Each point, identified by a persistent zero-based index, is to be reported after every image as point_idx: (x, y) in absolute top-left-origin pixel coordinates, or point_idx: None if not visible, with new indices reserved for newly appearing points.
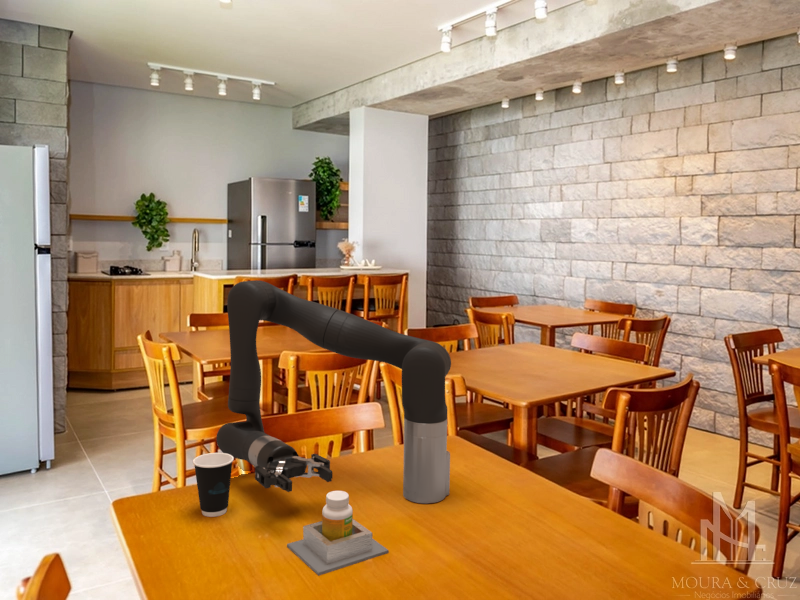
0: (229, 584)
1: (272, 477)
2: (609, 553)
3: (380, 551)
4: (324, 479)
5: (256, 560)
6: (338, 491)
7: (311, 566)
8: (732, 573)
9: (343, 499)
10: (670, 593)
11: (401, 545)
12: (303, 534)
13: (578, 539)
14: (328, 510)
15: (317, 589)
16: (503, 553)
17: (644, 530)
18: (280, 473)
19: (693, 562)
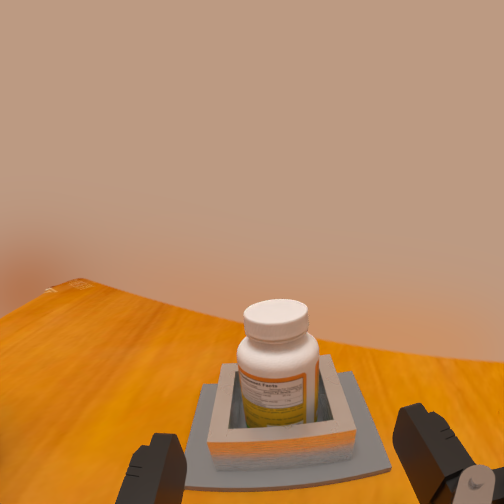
0: (489, 375)
1: (497, 474)
2: (61, 308)
3: (217, 386)
4: (181, 493)
5: (459, 430)
6: (260, 318)
7: (358, 386)
8: (62, 284)
9: (272, 300)
10: (103, 284)
11: (166, 394)
12: (353, 443)
13: (44, 322)
14: (308, 334)
15: (361, 352)
16: (103, 334)
17: (14, 311)
18: (460, 485)
19: (55, 291)
